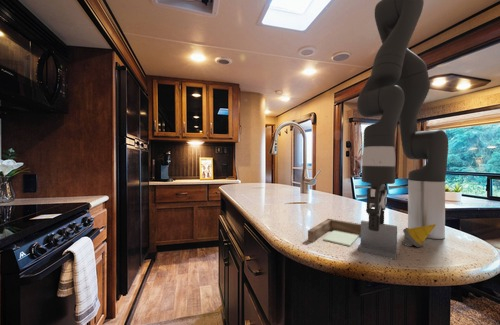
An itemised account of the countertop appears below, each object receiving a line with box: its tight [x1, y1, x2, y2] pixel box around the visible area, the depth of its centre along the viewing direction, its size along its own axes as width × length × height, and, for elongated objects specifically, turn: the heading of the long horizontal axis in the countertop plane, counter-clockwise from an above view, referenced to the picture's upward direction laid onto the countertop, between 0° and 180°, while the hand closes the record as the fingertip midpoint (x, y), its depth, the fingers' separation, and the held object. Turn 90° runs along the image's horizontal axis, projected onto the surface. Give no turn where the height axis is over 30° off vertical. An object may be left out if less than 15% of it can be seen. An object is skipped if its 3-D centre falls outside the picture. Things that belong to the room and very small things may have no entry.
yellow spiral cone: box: [402, 224, 436, 248], centre depth 59 cm, size 5×5×10 cm
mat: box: [322, 229, 360, 247], centre depth 65 cm, size 11×8×1 cm
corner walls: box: [307, 218, 361, 243], centre depth 65 cm, size 18×15×3 cm
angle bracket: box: [357, 219, 398, 260], centre depth 55 cm, size 8×4×7 cm, turn 52°
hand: (376, 227), depth 56 cm, fingers open, 8 cm apart
